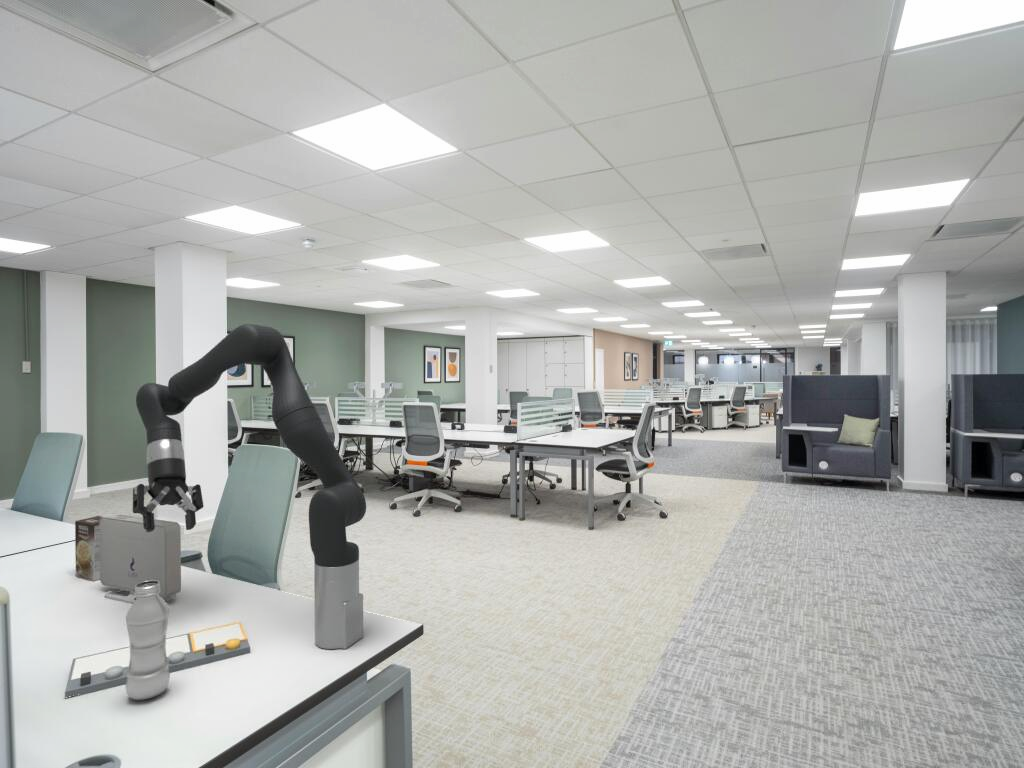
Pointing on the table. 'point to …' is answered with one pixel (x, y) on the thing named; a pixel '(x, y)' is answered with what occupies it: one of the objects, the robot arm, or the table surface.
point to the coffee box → (87, 548)
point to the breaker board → (179, 652)
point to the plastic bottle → (147, 642)
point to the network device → (139, 555)
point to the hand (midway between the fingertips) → (171, 529)
